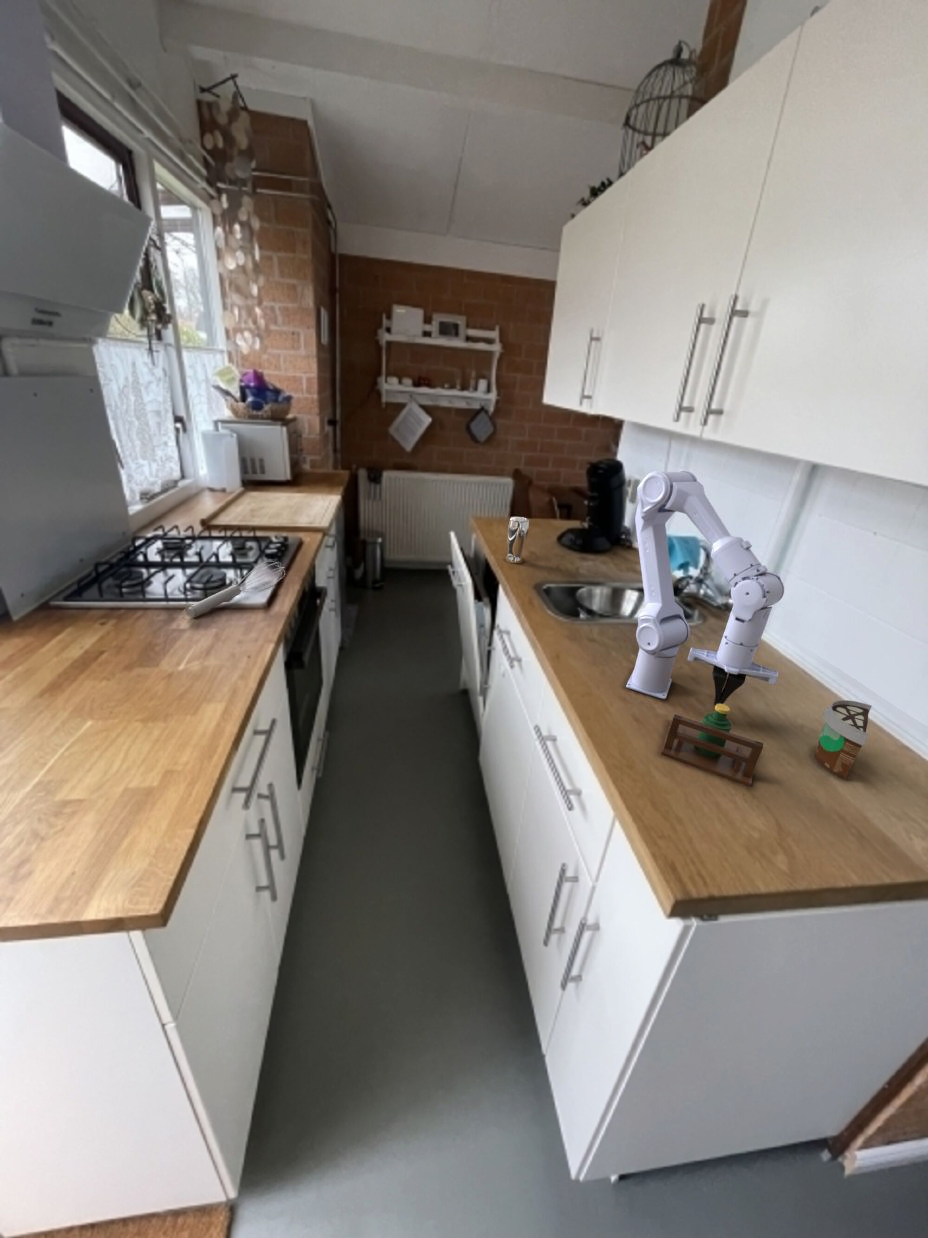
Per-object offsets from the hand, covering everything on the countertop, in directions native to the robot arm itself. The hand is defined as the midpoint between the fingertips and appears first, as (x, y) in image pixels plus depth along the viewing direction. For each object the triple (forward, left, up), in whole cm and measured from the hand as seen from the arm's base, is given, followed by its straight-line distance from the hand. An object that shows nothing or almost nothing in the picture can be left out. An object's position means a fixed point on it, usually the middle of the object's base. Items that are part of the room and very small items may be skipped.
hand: (717, 703), depth 96 cm
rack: (+10, 0, -5) cm, 11 cm away
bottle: (+10, 0, -4) cm, 11 cm away
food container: (-1, +19, -5) cm, 20 cm away
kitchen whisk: (+14, -112, -5) cm, 113 cm away
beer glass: (-67, -70, -5) cm, 97 cm away
